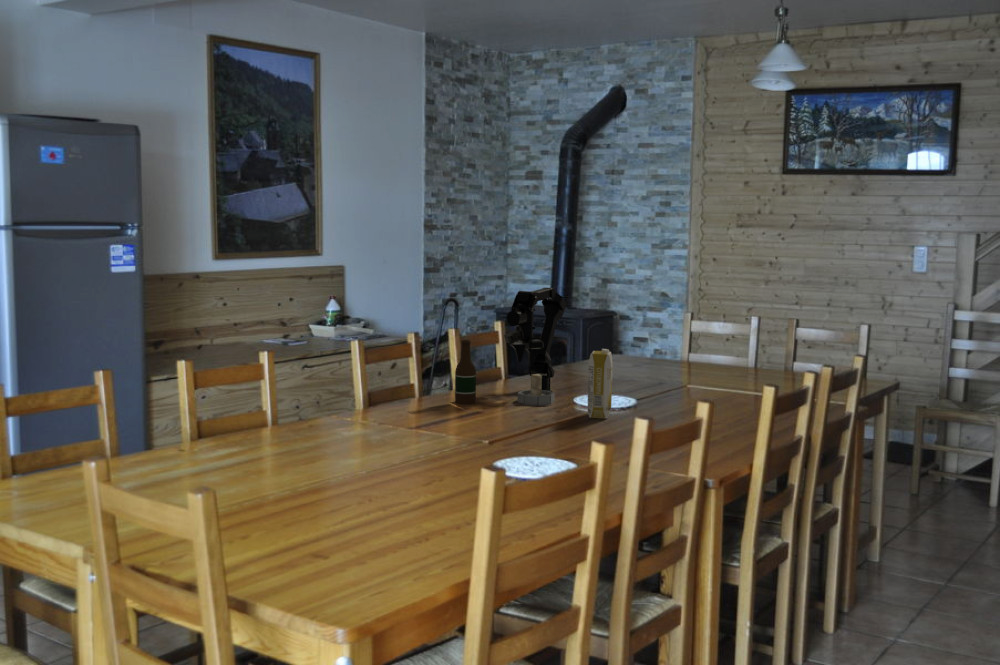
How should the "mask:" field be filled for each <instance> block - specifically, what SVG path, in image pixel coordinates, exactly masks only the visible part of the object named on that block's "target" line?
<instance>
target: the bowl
mask: <svg viewBox="0 0 1000 665" xmlns="http://www.w3.org/2000/svg"><path fill="white" fill-rule="evenodd" d="M551 391H552V390H551ZM551 391H547V390H541V396H534V395H531V389H526V390H525V389H524V390H520V391H518V392H517V403H519V404H521V405H522V404H523V405H524V406H525V405H526V406H536V408H542V407H541V406H548V407H551V406H552V404H553V403H555V400H556V399H555V397H556V394H555V392H553V391H552V392H551Z"/></svg>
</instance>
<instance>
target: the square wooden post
mask: <svg viewBox="0 0 1000 665" xmlns="http://www.w3.org/2000/svg"><path fill="white" fill-rule="evenodd" d="M541 389H542V375H539V374H532V375H531V376H530V390H531V395H534V396H541Z"/></svg>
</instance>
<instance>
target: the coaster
mask: <svg viewBox="0 0 1000 665" xmlns="http://www.w3.org/2000/svg"><path fill="white" fill-rule="evenodd" d="M482 398H484V399H486V400H489V401H491V402H499V401H510V400H511V401H512V400H514V398H511V397H508V396H506V395H491V396H482Z"/></svg>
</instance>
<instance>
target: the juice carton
mask: <svg viewBox="0 0 1000 665" xmlns="http://www.w3.org/2000/svg"><path fill="white" fill-rule="evenodd" d="M613 366H614V365H613V355H612V352H611V351H610V349H607V348H601V350H592V352H591V353H590V355H589V359H588V370H587V374H588V377H587V380H588V381H587V413H588V418H590V419H601V420H603V419H604V420H605V419H608V418H609V415H610V413H611V409H612V398H613V395H612V394H613V393H612V392H613V391H612V390H613Z"/></svg>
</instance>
